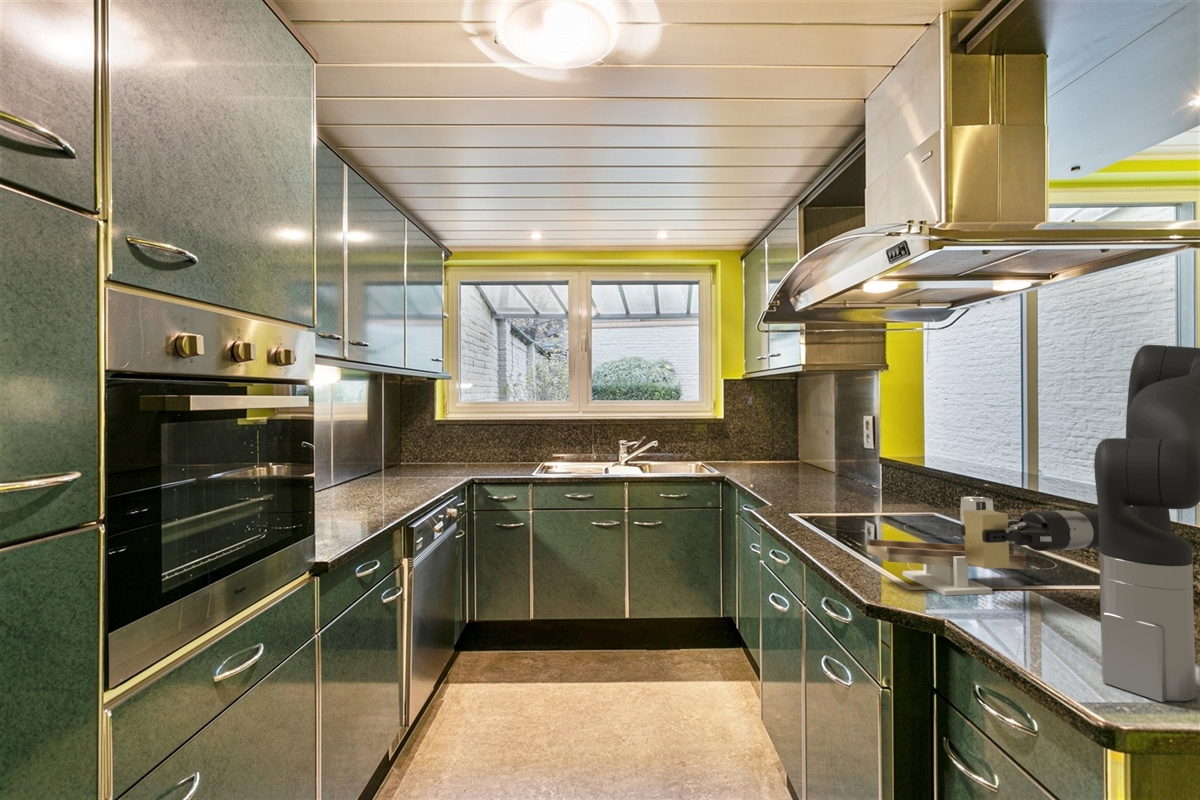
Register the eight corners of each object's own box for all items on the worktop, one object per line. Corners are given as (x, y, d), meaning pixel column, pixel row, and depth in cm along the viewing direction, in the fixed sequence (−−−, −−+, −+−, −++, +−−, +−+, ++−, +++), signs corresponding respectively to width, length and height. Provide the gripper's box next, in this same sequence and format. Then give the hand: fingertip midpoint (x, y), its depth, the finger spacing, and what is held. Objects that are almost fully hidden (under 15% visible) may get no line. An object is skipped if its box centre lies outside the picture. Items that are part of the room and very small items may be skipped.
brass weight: (989, 560, 113) (987, 509, 114) (1009, 567, 108) (1007, 514, 109) (965, 561, 113) (963, 510, 113) (984, 568, 108) (982, 514, 108)
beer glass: (956, 555, 146) (954, 496, 146) (986, 556, 145) (985, 496, 145) (969, 563, 139) (967, 500, 139) (1000, 563, 138) (999, 500, 138)
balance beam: (996, 559, 128) (997, 546, 128) (1025, 569, 120) (1026, 556, 120) (866, 552, 126) (867, 539, 126) (888, 561, 118) (889, 547, 118)
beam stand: (944, 573, 130) (944, 542, 130) (992, 593, 116) (991, 558, 116) (902, 575, 129) (902, 544, 129) (945, 595, 115) (944, 560, 115)
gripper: (1024, 505, 119) (946, 507, 118) (1088, 517, 105) (1001, 520, 104) (1025, 541, 119) (947, 544, 118) (1090, 558, 105) (1002, 562, 103)
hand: (973, 533), depth 111 cm, fingers closed on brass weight, 5 cm apart
